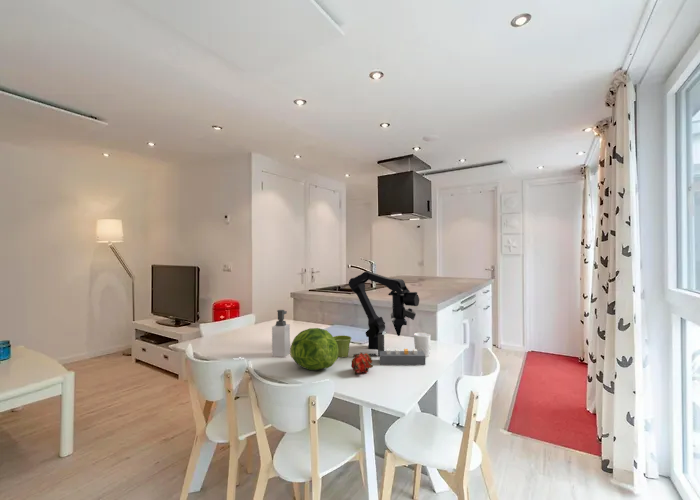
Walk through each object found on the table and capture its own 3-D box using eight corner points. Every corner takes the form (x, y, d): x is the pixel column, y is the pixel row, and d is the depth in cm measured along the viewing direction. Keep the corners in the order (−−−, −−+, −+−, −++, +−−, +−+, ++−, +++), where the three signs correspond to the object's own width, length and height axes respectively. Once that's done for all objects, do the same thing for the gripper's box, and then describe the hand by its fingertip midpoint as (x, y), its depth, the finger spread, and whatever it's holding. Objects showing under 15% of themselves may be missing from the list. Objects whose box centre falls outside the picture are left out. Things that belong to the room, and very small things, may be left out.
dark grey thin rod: (353, 357, 158) (353, 354, 158) (353, 356, 160) (352, 353, 160) (376, 356, 159) (376, 353, 159) (376, 355, 161) (375, 353, 161)
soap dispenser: (291, 351, 168) (291, 308, 168) (284, 357, 160) (284, 311, 160) (279, 351, 170) (279, 308, 170) (272, 356, 161) (271, 311, 161)
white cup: (431, 358, 156) (430, 336, 156) (414, 357, 157) (413, 336, 157) (430, 353, 163) (430, 332, 163) (414, 352, 165) (414, 332, 165)
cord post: (378, 356, 159) (377, 335, 159) (378, 354, 162) (377, 334, 162) (384, 356, 158) (384, 335, 158) (384, 354, 161) (383, 334, 161)
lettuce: (307, 338, 163) (282, 322, 150) (347, 335, 151) (323, 318, 139) (298, 376, 152) (271, 362, 140) (340, 376, 140) (314, 361, 128)
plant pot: (354, 354, 163) (354, 336, 163) (346, 359, 155) (346, 341, 155) (337, 351, 167) (337, 334, 167) (328, 357, 159) (328, 339, 159)
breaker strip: (380, 364, 148) (379, 352, 148) (379, 359, 155) (379, 347, 155) (425, 364, 146) (425, 352, 146) (422, 359, 153) (422, 347, 153)
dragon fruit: (370, 371, 144) (357, 384, 134) (356, 357, 147) (341, 370, 137) (380, 358, 141) (366, 371, 130) (364, 344, 144) (350, 356, 133)
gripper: (417, 307, 156) (417, 340, 156) (411, 301, 175) (412, 331, 175) (393, 307, 157) (394, 340, 157) (390, 301, 176) (391, 331, 175)
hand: (398, 335), depth 166 cm, fingers closed
